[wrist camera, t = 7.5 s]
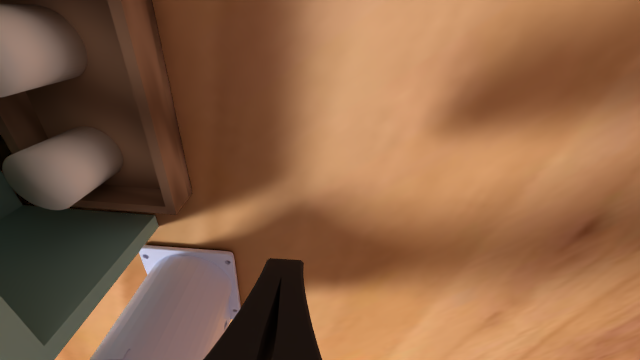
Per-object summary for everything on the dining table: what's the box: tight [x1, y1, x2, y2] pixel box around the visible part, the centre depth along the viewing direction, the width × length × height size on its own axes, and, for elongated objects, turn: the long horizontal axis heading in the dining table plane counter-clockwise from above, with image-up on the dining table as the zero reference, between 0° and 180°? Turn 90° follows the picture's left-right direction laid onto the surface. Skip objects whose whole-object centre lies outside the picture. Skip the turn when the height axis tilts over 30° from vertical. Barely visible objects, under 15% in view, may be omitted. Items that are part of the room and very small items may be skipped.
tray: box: [0, 0, 192, 215], centre depth 16 cm, size 13×9×2 cm
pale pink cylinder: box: [0, 4, 87, 97], centre depth 13 cm, size 4×4×4 cm
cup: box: [2, 126, 123, 210], centre depth 17 cm, size 4×4×4 cm
